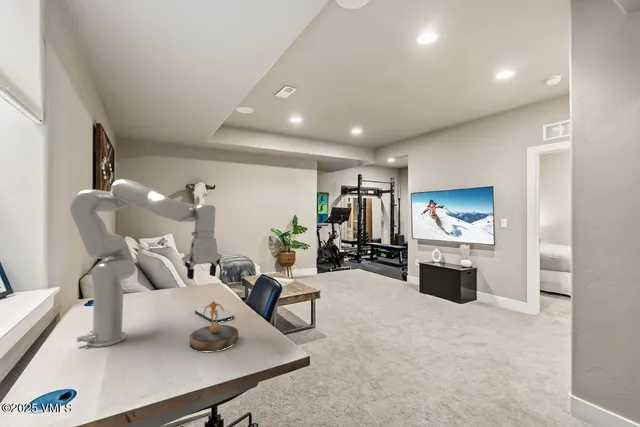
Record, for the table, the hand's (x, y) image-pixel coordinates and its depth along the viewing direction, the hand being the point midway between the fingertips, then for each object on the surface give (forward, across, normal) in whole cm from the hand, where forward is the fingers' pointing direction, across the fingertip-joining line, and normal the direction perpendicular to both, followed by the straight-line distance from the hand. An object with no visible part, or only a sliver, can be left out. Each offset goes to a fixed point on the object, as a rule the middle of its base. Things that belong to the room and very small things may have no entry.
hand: (201, 277), depth 119 cm
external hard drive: (+26, +21, +21) cm, 40 cm away
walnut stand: (+25, +3, -7) cm, 26 cm away
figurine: (+21, +2, -7) cm, 22 cm away
